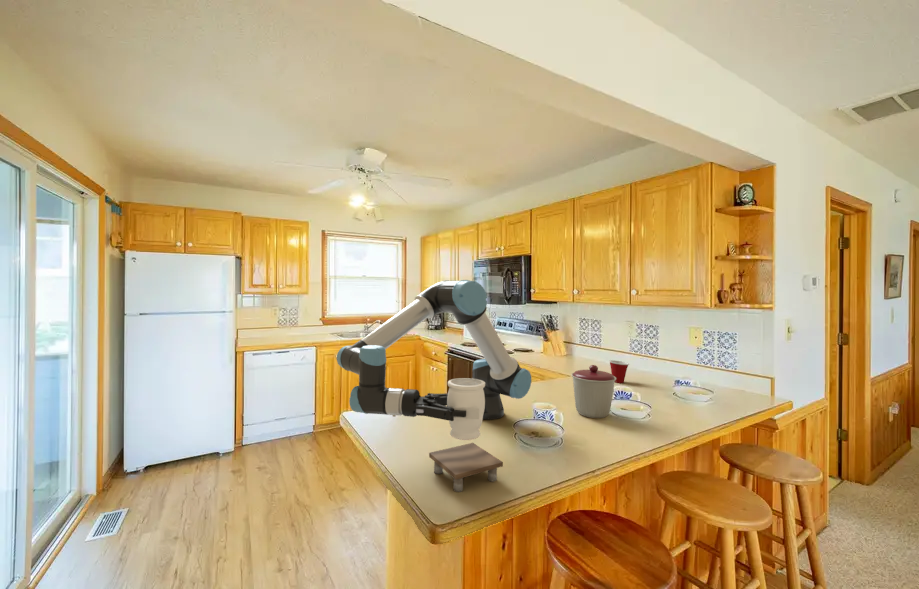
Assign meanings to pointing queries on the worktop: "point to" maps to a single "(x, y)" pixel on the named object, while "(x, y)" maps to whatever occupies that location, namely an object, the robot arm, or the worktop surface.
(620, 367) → the plastic cup
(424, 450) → the worktop surface
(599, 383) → the canister
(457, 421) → the jar
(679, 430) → the worktop surface
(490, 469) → the wooden trivet stand
